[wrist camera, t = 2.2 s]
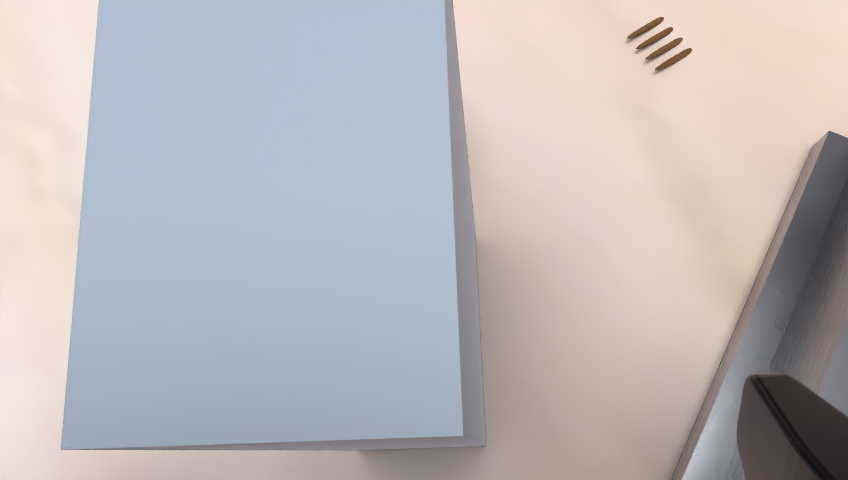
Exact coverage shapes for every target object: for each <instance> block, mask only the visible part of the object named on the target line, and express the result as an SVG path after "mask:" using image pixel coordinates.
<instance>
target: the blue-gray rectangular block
mask: <svg viewBox="0 0 848 480" xmlns="http://www.w3.org/2000/svg"><path fill="white" fill-rule="evenodd" d="M473 446H486V434H485V414H484V394H483V374H482V355H481V335H480V315H479V295H478V275H477V255H476V236H475V225H474V215H473V205H472V195H471V184H470V174H469V164H468V154H467V143H466V133H465V123H464V113H463V102H462V92H461V82H460V72H459V61H458V51H457V41H456V31H455V20H454V10H453V0H99V7H98V18H97V30H96V42H95V54H94V66H93V77H92V89H91V101H90V113H89V124H88V136H87V148H86V160H85V171H84V183H83V195H82V207H81V219H80V230H79V242H78V254H77V266H76V277H75V289H74V301H73V313H72V324H71V336H70V348H69V360H68V372H67V383H66V395H65V407H64V419H63V430H62V442H61V450H383V449H413V448H443V447H473Z"/></svg>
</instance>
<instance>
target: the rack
mask: <svg viewBox="0 0 848 480" xmlns="http://www.w3.org/2000/svg"><path fill="white" fill-rule="evenodd" d="M777 372H781V373H787V374H789V375H791V376H792V377H794V378H795V379H797V380H798V381H799V382H801V383H802V384H804V385H805V386H806V387H808V388H809V389H811V390H812V391H813V392H815V393H816V394H817V395H819V396H820V397H822V398H823V399H824V400H826V401H827V402H829V403H830V404H831V405H833V406H834V407H835V408H837V409H838V410H840V411H841V412H842V413H844V414H845V415H847V416H848V138H846V137H844V136H841V135H839V134H836V133H834V132H831V131H828V132H827V133H826V134H825V135H824V136H823V137H822V138H821V139H820V140H819V141H818V142H817V143H816V144H815V145H814V146H813V147H812V149H811V152H810V154H809V156H808V159H807V161H806V163H805V166H804V168H803V170H802V173H801V175H800V177H799V180H798V182H797V184H796V187H795V189H794V192H793V194H792V196H791V199H790V201H789V203H788V206H787V208H786V210H785V213H784V215H783V217H782V220H781V222H780V225H779V227H778V229H777V232H776V234H775V236H774V239H773V241H772V243H771V246H770V248H769V250H768V253H767V255H766V258H765V260H764V262H763V265H762V267H761V269H760V272H759V274H758V276H757V279H756V281H755V283H754V286H753V288H752V291H751V293H750V295H749V298H748V300H747V302H746V305H745V307H744V309H743V312H742V314H741V316H740V319H739V321H738V323H737V326H736V328H735V331H734V333H733V335H732V338H731V340H730V342H729V345H728V347H727V349H726V352H725V354H724V356H723V359H722V361H721V364H720V366H719V368H718V371H717V373H716V375H715V378H714V380H713V382H712V385H711V387H710V389H709V392H708V394H707V397H706V399H705V401H704V404H703V406H702V408H701V411H700V413H699V415H698V418H697V420H696V422H695V425H694V427H693V430H692V432H691V434H690V437H689V439H688V441H687V444H686V446H685V448H684V451H683V453H682V455H681V458H680V460H679V462H678V465H677V467H676V470H675V472H674V474H673V477H672V479H671V480H746V478H745V474H744V470H743V466H742V463H741V459H740V455H739V451H738V446H737V423H738V417H739V410H740V404H741V398H742V391H743V385H744V382H745V380H746V378H747V377H748V376H749V375H751V374H754V373H777Z"/></svg>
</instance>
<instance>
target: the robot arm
mask: <svg viewBox="0 0 848 480" xmlns="http://www.w3.org/2000/svg"><path fill="white" fill-rule="evenodd" d="M737 446H738V451H739V455H740V459H741V463H742V466H743V470H744V474H745V478H746V480H848V416H847V415H845V414H844V413H842V412H841V411H840V410H838V409H837V408H835V407H834V406H833V405H831V404H830V403H829V402H827V401H826V400H824V399H823V398H822V397H820V396H819V395H817V394H816V393H815V392H813V391H812V390H811V389H809V388H808V387H806V386H805V385H804V384H802V383H801V382H799V381H798V380H797V379H795V378H794V377H792V376H791V375H789V374H787V373H781V372H777V373H754V374H751V375H749V376H748V377H747V378H746V380H745V382H744V385H743V391H742V398H741V404H740V410H739V417H738V423H737Z"/></svg>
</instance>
